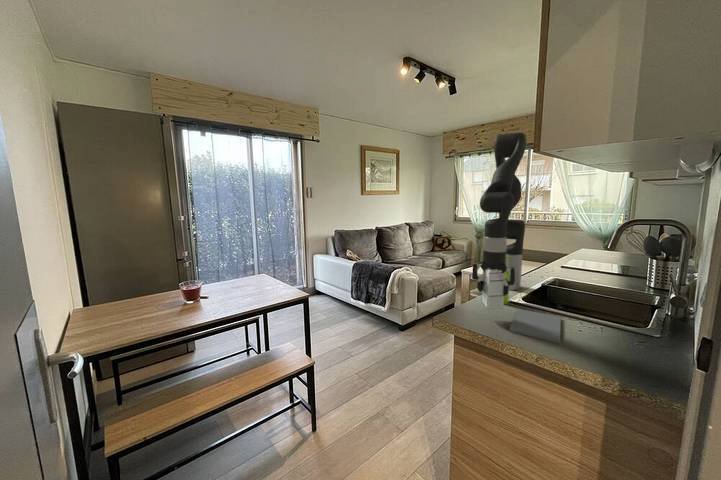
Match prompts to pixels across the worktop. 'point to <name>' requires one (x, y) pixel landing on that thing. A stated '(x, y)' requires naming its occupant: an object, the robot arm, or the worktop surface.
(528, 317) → the slate mat
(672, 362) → the worktop surface
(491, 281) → the syrup box
